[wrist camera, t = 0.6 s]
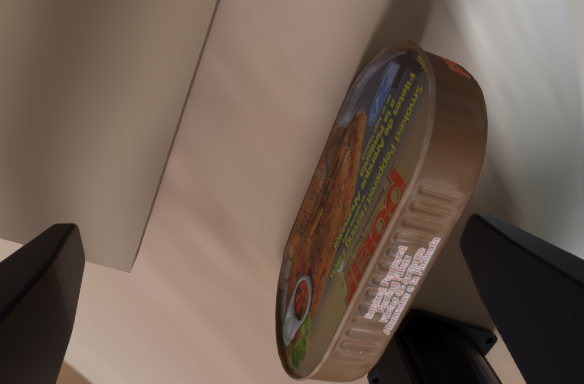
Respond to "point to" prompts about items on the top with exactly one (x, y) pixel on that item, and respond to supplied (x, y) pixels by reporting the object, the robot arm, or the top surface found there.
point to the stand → (92, 114)
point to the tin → (378, 211)
